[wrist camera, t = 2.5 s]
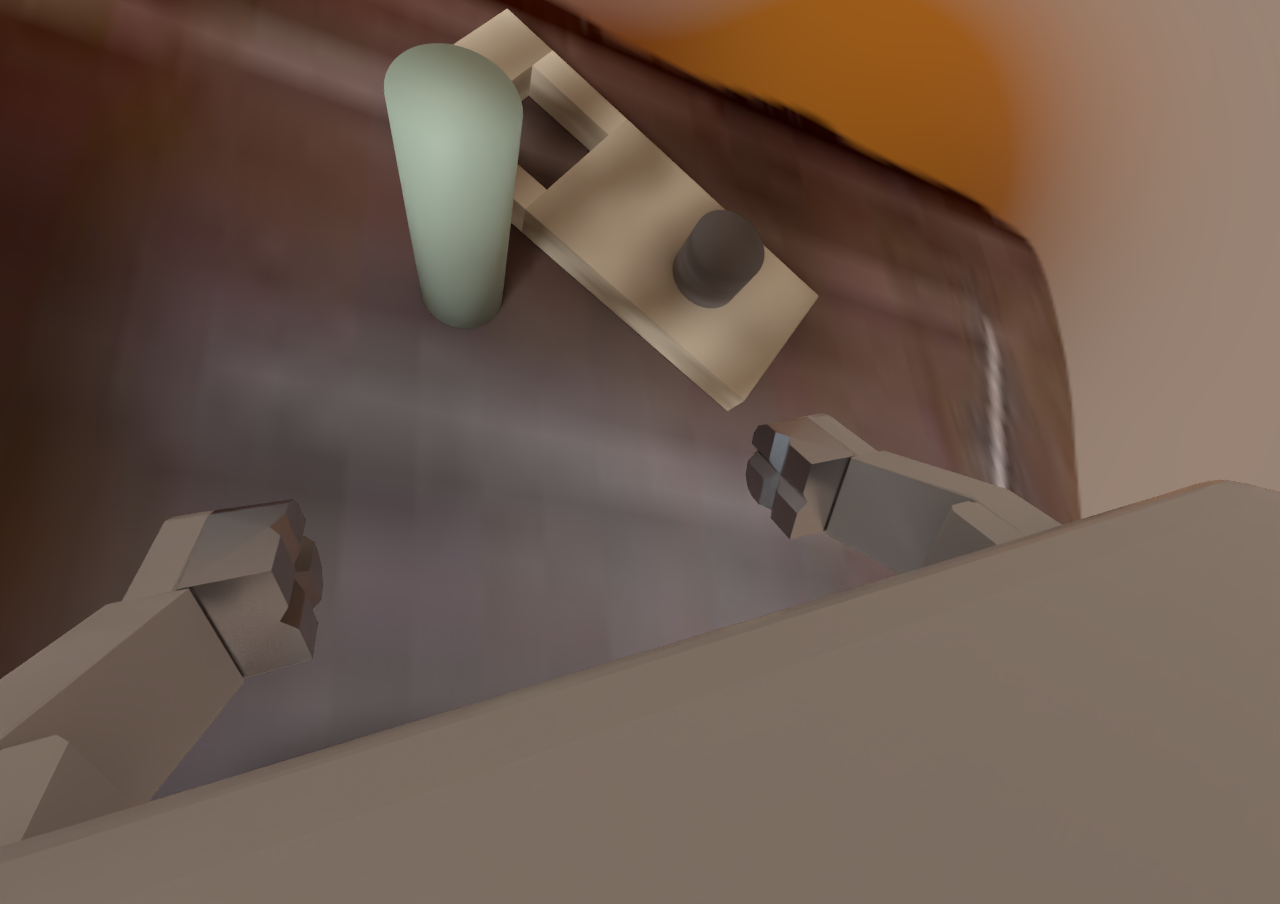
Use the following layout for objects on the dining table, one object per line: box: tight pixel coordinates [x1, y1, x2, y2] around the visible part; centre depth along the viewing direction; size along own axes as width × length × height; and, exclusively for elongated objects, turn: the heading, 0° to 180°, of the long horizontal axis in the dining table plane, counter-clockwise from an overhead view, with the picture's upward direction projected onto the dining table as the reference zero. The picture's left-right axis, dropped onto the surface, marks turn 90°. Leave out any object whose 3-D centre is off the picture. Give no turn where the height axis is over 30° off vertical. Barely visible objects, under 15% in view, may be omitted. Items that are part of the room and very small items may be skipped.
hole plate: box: [454, 9, 819, 411], centre depth 28 cm, size 24×9×5 cm, turn 53°
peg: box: [384, 43, 523, 329], centre depth 22 cm, size 4×4×12 cm
